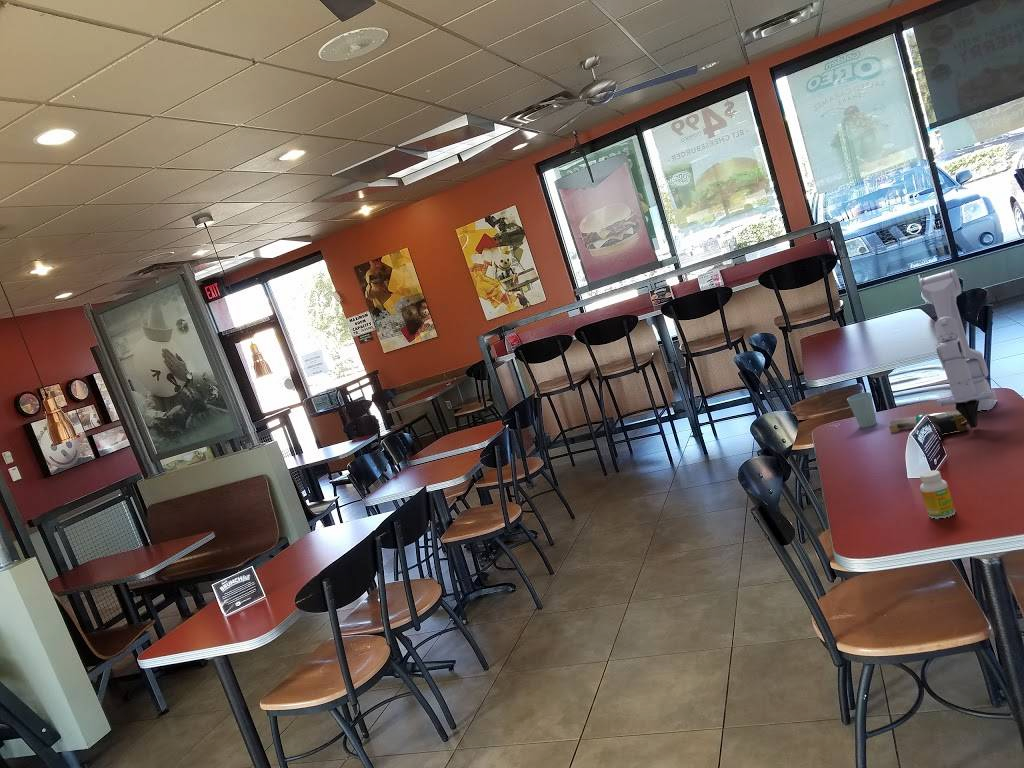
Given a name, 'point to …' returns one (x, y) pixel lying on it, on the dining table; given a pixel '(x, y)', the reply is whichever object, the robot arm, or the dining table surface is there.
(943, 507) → the supplement bottle
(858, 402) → the cup
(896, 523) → the dining table surface
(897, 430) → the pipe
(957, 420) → the pipe connector
